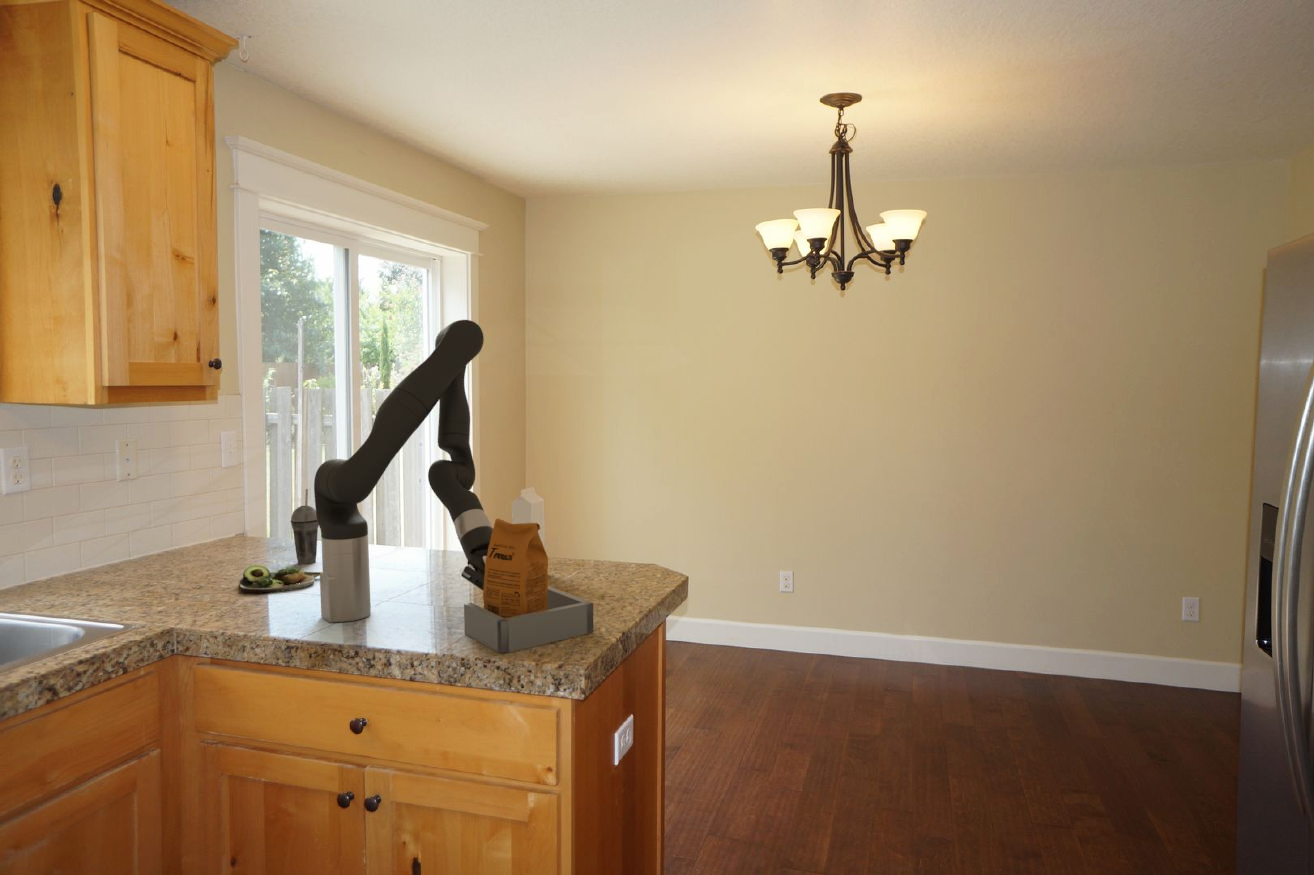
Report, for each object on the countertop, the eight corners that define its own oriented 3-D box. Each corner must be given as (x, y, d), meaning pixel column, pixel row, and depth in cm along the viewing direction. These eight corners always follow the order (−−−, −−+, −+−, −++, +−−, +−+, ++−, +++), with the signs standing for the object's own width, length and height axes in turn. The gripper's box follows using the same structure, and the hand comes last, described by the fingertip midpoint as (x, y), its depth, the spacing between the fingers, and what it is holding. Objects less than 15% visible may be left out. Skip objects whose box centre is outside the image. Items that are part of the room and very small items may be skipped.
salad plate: (322, 573, 222) (321, 555, 221) (328, 588, 206) (328, 569, 205) (239, 581, 213) (238, 563, 213) (239, 598, 197) (238, 578, 197)
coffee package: (510, 618, 178) (508, 514, 176) (556, 628, 171) (554, 519, 169) (475, 631, 170) (472, 521, 168) (521, 641, 163) (518, 527, 161)
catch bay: (501, 654, 156) (500, 621, 155) (464, 633, 168) (464, 603, 167) (593, 632, 168) (593, 602, 167) (552, 615, 180) (552, 587, 180)
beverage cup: (286, 564, 230) (283, 490, 228) (304, 559, 237) (301, 487, 235) (308, 566, 227) (305, 491, 226) (326, 560, 234) (324, 488, 233)
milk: (512, 576, 215) (510, 489, 213) (526, 571, 220) (524, 486, 218) (533, 578, 212) (530, 490, 210) (546, 573, 218) (544, 487, 216)
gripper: (452, 528, 178) (481, 598, 170) (509, 521, 186) (539, 587, 178) (442, 549, 183) (469, 618, 174) (498, 541, 191) (526, 607, 182)
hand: (504, 602), depth 176 cm, fingers closed
